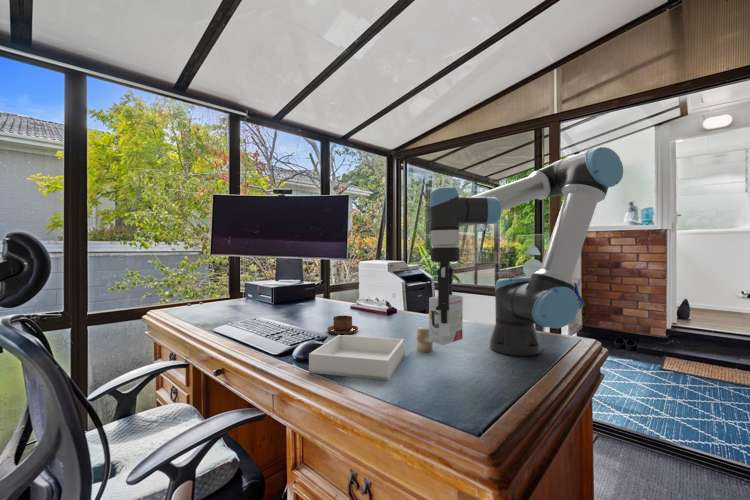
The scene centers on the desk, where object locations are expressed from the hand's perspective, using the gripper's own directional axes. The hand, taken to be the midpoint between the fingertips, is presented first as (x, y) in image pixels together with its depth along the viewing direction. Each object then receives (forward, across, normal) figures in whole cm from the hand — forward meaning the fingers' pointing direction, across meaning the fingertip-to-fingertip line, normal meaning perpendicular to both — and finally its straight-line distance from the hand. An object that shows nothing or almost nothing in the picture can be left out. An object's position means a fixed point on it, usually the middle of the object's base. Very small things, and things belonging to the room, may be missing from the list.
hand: (446, 330), depth 94 cm
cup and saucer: (+11, -34, -43) cm, 56 cm away
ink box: (+3, 0, 0) cm, 3 cm away
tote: (+11, -1, -24) cm, 27 cm away
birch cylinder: (+11, -19, -8) cm, 23 cm away
